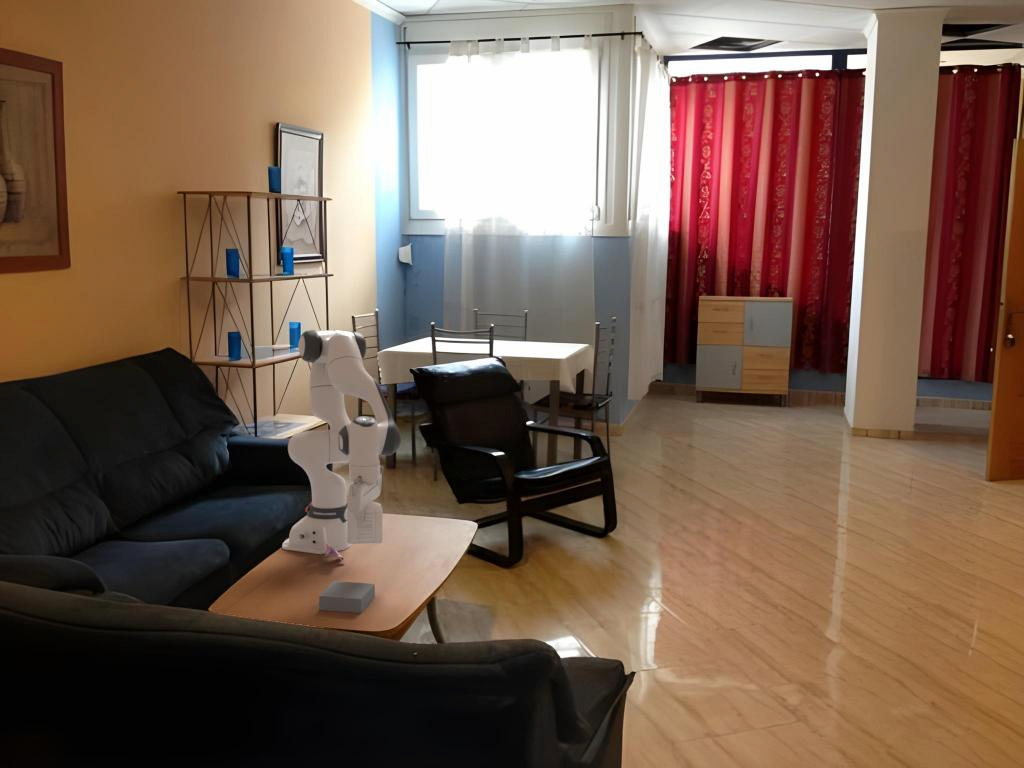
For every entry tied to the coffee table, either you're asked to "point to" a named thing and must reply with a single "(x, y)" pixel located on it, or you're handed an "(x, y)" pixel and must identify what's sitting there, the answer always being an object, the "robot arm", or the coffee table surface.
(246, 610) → the coffee table surface
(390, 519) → the coffee table surface
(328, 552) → the lily
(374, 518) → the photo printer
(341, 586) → the slate block
